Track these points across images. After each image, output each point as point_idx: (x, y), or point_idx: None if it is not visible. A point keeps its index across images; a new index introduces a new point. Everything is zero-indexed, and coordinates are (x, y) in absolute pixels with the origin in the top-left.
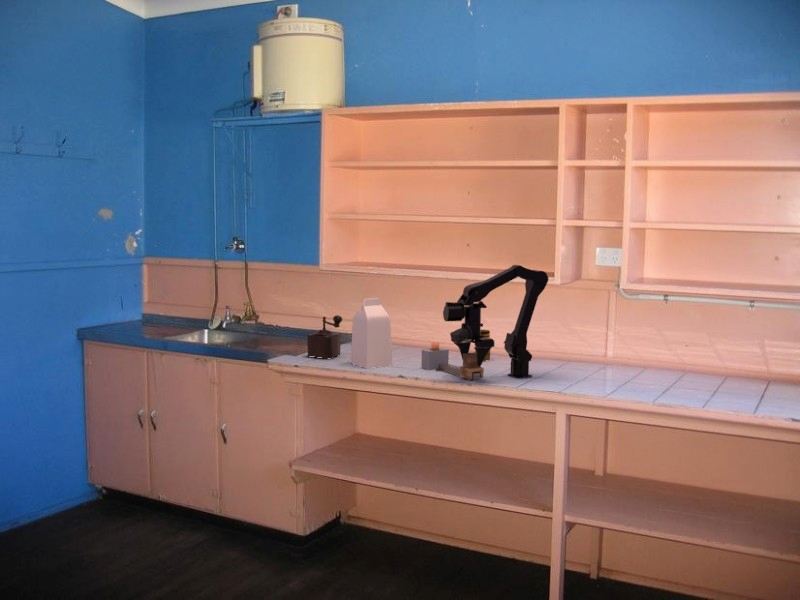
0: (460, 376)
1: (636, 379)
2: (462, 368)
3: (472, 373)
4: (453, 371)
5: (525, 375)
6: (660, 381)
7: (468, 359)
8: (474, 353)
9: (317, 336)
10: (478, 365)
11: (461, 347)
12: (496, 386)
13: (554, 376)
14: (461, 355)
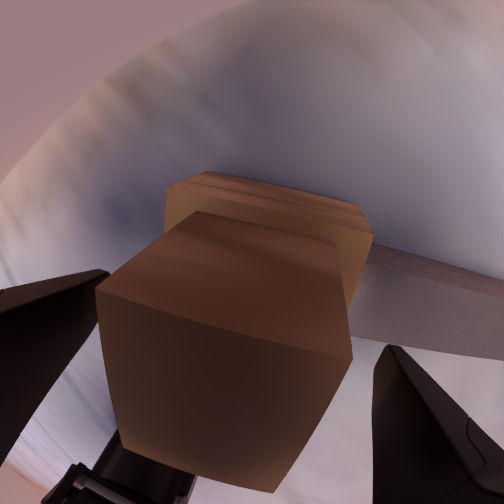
0: (347, 202)
1: (45, 465)
2: (320, 216)
3: None
4: (474, 281)
5: None
6: (29, 458)
7: (171, 258)
8: (203, 454)
9: None
10: (96, 270)
11: (471, 495)
12: (26, 189)
13: None
14: (444, 392)
